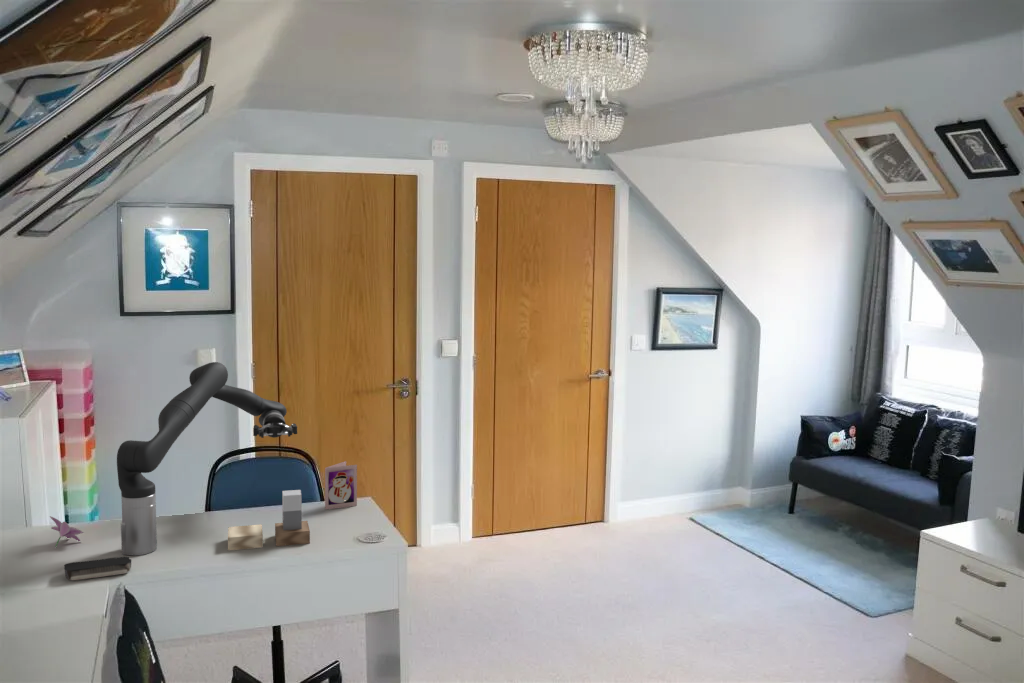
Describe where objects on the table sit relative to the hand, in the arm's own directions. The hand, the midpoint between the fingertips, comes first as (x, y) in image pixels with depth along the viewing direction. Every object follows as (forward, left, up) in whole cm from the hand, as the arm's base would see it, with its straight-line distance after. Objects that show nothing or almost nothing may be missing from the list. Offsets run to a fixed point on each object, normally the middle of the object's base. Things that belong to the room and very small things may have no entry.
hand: (276, 434), depth 266 cm
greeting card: (+22, +14, -30) cm, 40 cm away
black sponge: (-49, -32, -31) cm, 66 cm away
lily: (-62, -5, -30) cm, 69 cm away
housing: (+4, -18, -26) cm, 32 cm away
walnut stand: (+4, -18, -30) cm, 35 cm away
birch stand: (-10, -18, -30) cm, 36 cm away
